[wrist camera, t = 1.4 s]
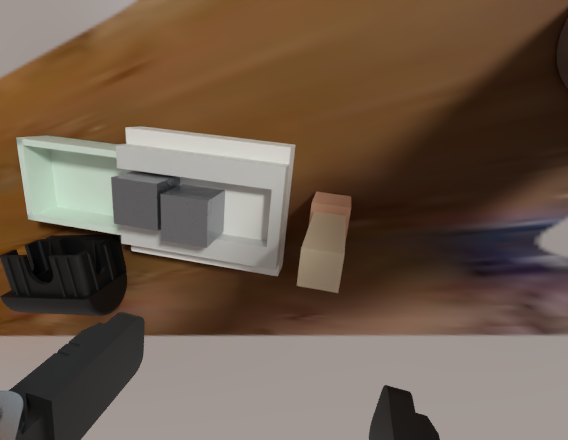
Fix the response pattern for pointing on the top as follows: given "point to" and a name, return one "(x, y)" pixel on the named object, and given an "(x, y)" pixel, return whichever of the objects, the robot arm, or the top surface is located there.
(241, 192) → the slot board
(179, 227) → the grey cube block
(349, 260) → the top surface
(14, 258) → the end cap
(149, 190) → the dark grey cube
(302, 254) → the two-tone stepped bar
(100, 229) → the tray
